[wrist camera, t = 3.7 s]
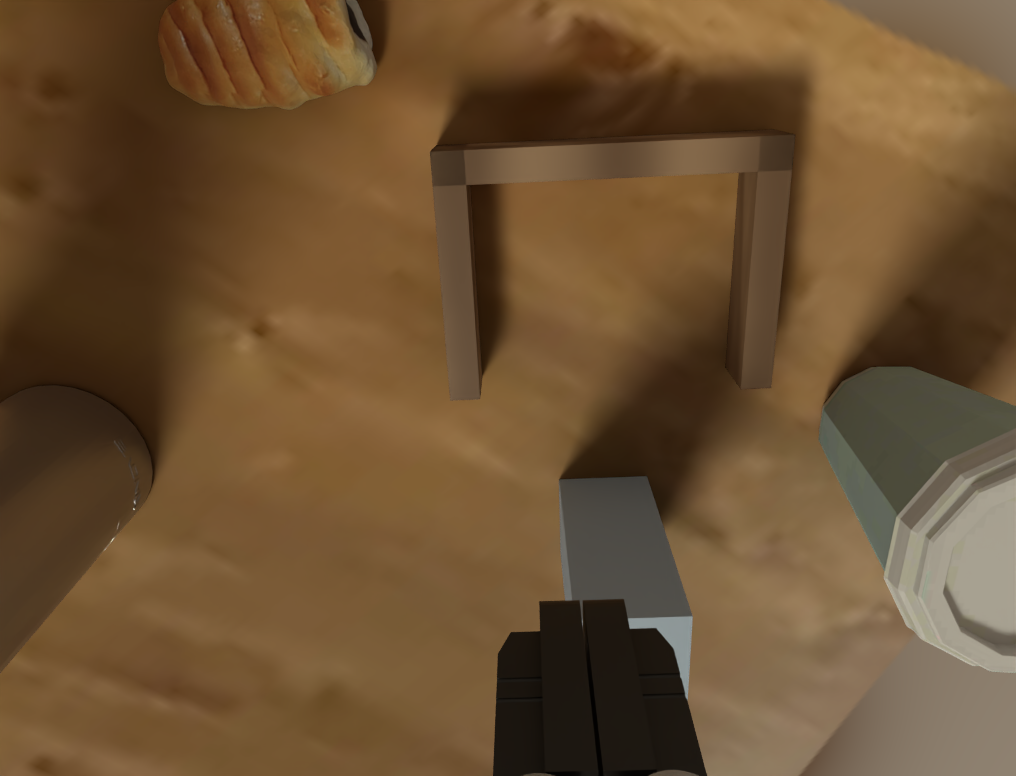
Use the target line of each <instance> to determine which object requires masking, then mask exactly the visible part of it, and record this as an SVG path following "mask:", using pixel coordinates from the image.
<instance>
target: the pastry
mask: <svg viewBox="0 0 1016 776" xmlns="http://www.w3.org/2000/svg"><path fill="white" fill-rule="evenodd" d="M158 43H159V49H160V53H161V57H162V60H163V63H164V66H165V76H166V79H167V81H168V83H169V84H170V86H171V87H173V88H174V89H176V90H177V91H179V92H181V93H183V94H184V95H186V96H188V97H190V98H191V99H192V100H194V101H196V102H198V103H199V104H202V105H216V106H220V105H224V106H227V107H230V108H231V107H237V108H240V109H255V108H262V107H266V106H276V107H280V108H282V109H289V110H291V109H295V108H297V107H299V106H301V105H302V104H303V103H304V102H305V101H307V100H311V99H316V98H319V97H322V96H328V95H332V94H334V93H337V92H340V91H342V90H344V89H346V88H349V87H352V86H354V85H368V84H369V83H370V82H371V81H372V79H373V78H374V76H375V74H376V70H377V64H376V61H375V58H374V55H373V52H372V38H371V34H370V31H369V27H368V25H367V23H366V21H365V19H364V17H363V14H362V11H361V9H360V7H359V4H358V2H357V1H356V0H176V1H175V2H174V3H172V4H170V5H168V7H167V8H166V9H165V11H164V13H163V16H162V17H161V19H160V22H159V32H158Z"/></svg>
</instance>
